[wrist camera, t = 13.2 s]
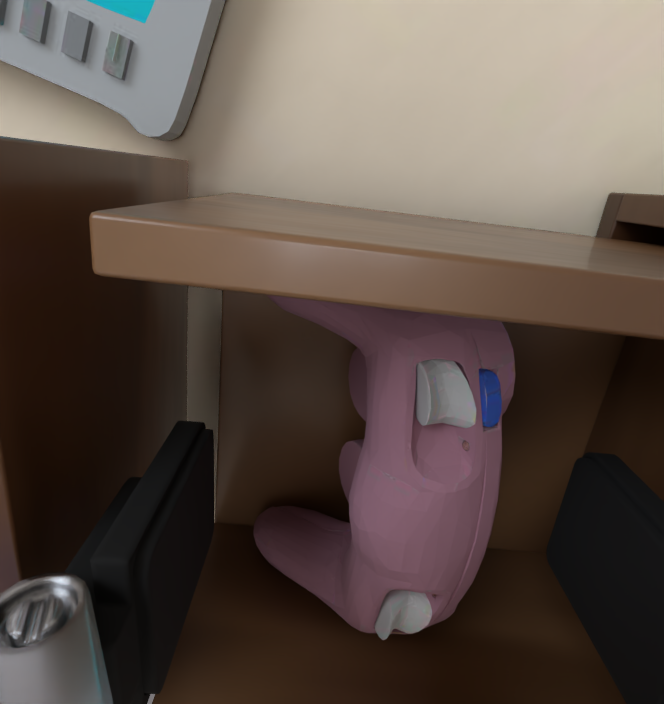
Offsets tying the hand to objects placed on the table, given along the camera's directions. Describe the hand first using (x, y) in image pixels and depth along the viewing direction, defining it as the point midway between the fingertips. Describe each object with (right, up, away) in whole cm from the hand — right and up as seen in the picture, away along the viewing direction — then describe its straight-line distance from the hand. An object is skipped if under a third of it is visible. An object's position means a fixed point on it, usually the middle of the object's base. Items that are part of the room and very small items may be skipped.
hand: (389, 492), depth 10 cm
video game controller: (-1, +1, +4) cm, 5 cm away
